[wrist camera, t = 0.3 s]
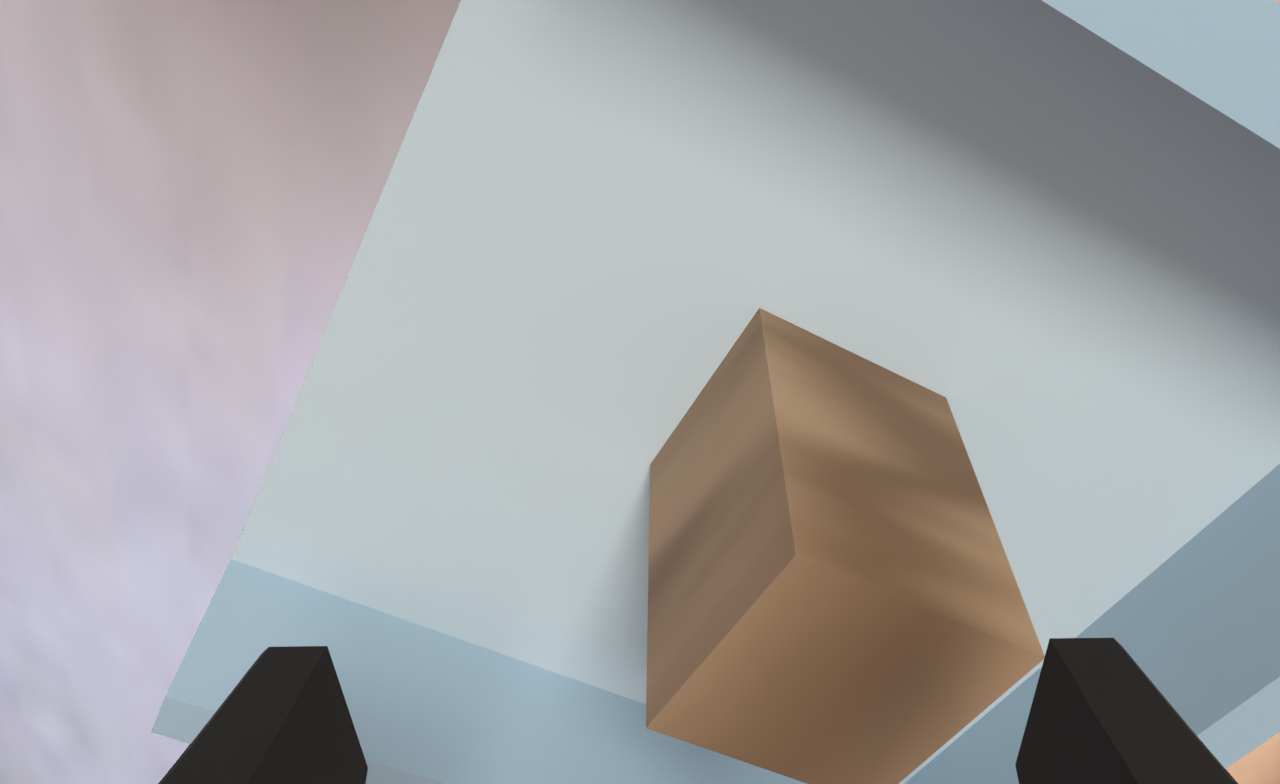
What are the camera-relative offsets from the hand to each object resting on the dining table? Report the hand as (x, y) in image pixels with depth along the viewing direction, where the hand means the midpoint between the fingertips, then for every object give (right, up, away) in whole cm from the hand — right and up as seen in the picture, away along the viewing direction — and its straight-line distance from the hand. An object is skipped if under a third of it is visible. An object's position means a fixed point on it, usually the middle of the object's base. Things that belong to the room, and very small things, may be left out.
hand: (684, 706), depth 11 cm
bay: (+2, +3, +10) cm, 11 cm away
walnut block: (+2, +2, +9) cm, 9 cm away
